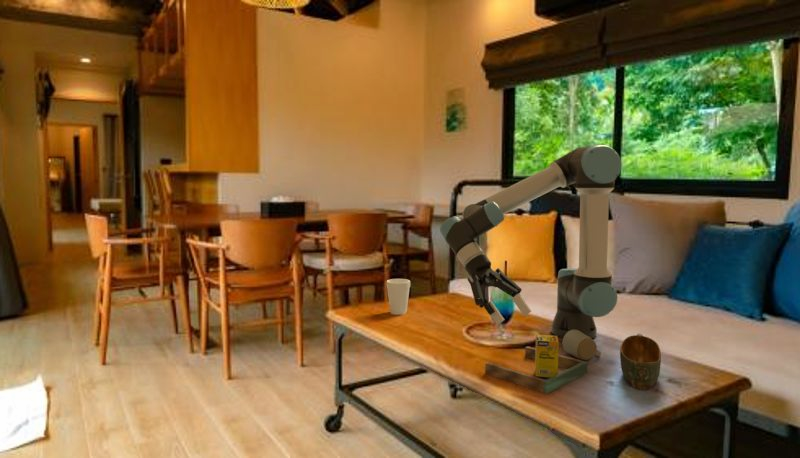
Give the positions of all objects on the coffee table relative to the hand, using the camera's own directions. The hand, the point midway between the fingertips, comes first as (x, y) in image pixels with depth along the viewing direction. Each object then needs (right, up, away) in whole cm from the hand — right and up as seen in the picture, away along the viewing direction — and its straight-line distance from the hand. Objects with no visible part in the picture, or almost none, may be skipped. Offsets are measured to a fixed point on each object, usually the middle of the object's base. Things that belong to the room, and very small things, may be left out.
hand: (514, 318), depth 158 cm
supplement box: (+7, -15, -6) cm, 18 cm away
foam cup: (-34, -8, +63) cm, 72 cm away
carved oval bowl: (+33, -16, -8) cm, 37 cm away
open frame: (+5, -15, -3) cm, 16 cm away
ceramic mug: (+23, -14, +10) cm, 29 cm away
